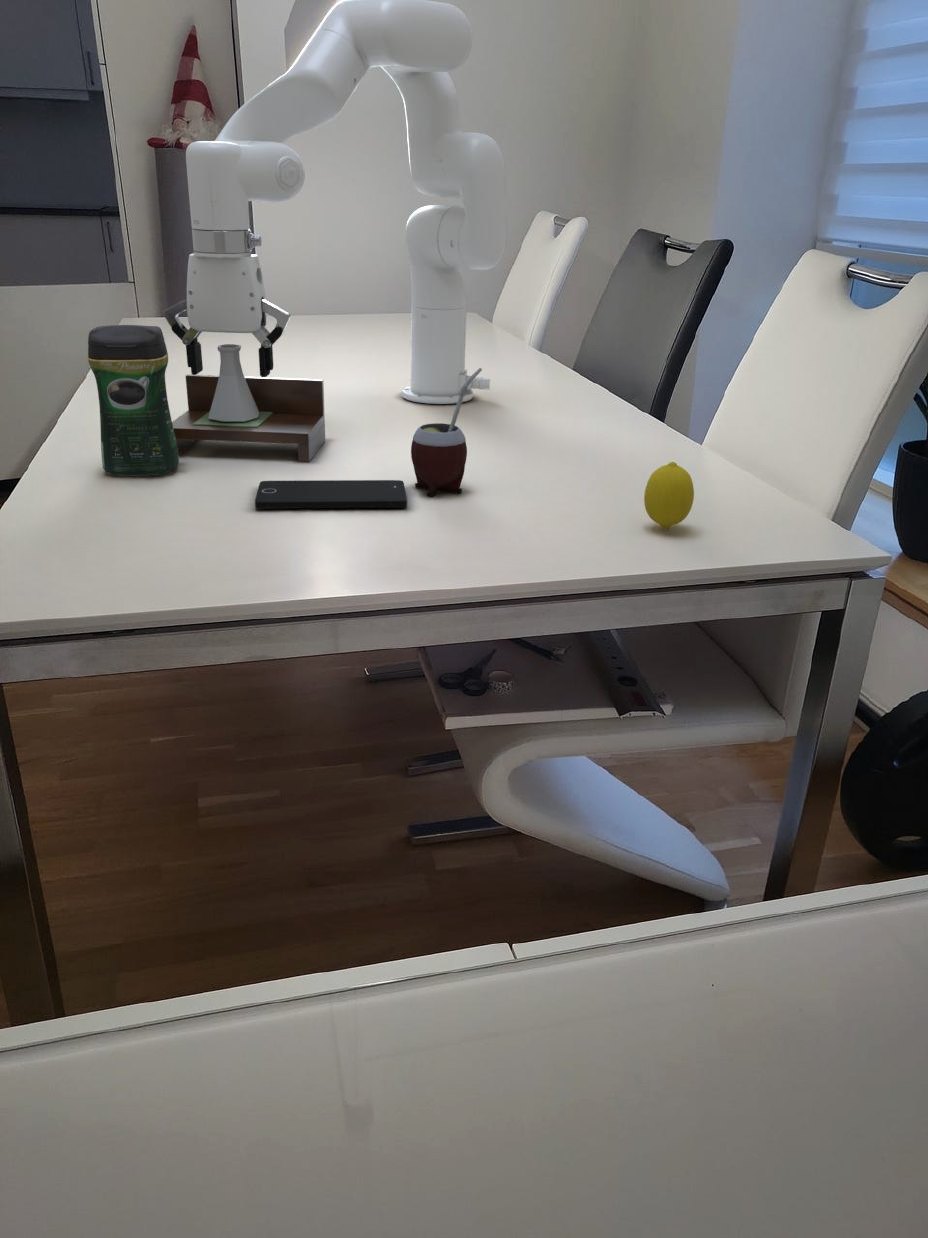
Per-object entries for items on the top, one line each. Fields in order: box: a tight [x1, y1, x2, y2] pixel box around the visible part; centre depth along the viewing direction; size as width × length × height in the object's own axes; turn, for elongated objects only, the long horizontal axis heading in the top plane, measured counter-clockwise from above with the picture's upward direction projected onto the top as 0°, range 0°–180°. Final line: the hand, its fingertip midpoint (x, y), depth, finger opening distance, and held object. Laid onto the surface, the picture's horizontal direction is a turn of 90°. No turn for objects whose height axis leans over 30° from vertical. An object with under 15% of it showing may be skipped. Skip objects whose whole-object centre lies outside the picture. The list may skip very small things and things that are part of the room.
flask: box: [208, 343, 259, 422], centre depth 141 cm, size 7×7×10 cm
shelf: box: [172, 373, 326, 463], centre depth 143 cm, size 20×12×9 cm, turn 87°
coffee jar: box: [87, 324, 180, 477], centre depth 129 cm, size 10×8×19 cm
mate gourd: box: [410, 367, 483, 498], centre depth 126 cm, size 8×8×15 cm
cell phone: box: [254, 479, 408, 510], centre depth 123 cm, size 9×18×1 cm, turn 96°
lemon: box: [643, 461, 695, 530], centre depth 115 cm, size 6×6×8 cm
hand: (231, 373), depth 141 cm, fingers open, 9 cm apart
